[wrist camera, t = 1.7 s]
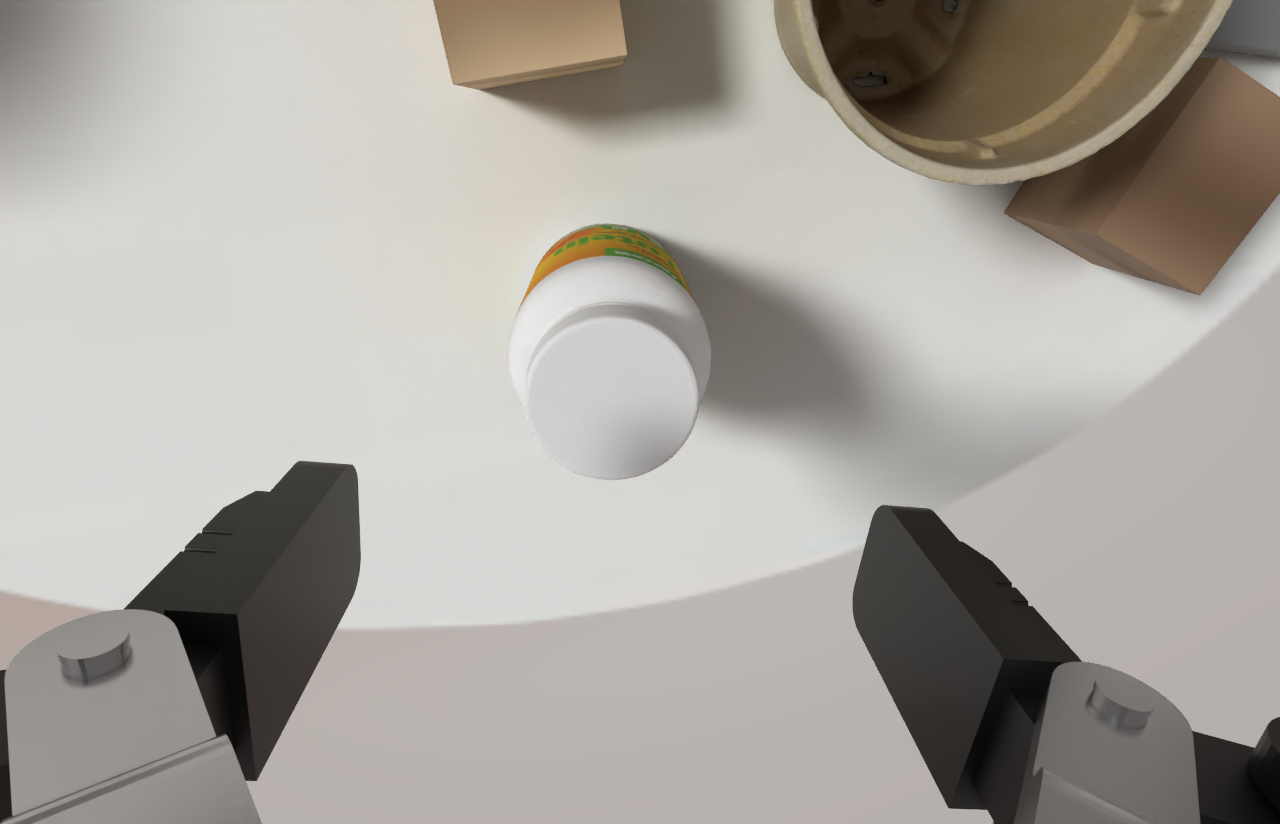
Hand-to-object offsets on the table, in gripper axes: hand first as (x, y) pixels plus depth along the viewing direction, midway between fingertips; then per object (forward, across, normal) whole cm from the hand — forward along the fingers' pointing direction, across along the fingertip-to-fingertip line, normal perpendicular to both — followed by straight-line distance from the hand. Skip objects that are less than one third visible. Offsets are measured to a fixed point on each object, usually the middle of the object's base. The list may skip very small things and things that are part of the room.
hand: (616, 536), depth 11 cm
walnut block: (+15, -16, -6) cm, 23 cm away
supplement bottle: (+15, 0, 0) cm, 15 cm away
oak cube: (+15, +3, -9) cm, 18 cm away
